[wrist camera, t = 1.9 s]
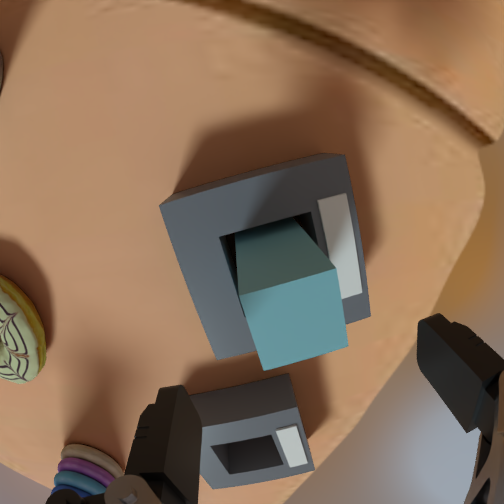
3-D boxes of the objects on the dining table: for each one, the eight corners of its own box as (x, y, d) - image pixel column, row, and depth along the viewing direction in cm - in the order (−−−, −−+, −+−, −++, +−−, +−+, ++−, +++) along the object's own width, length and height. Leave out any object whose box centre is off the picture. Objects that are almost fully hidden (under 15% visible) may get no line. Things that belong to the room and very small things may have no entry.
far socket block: (174, 398, 25) (168, 433, 21) (288, 373, 25) (297, 408, 21) (213, 459, 28) (212, 490, 24) (307, 440, 28) (315, 471, 24)
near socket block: (172, 194, 20) (157, 206, 16) (323, 153, 20) (346, 154, 16) (218, 327, 23) (216, 362, 19) (350, 290, 23) (371, 317, 19)
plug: (234, 227, 21) (238, 296, 11) (288, 212, 21) (336, 268, 11) (252, 287, 22) (268, 384, 13) (302, 272, 22) (350, 360, 13)
